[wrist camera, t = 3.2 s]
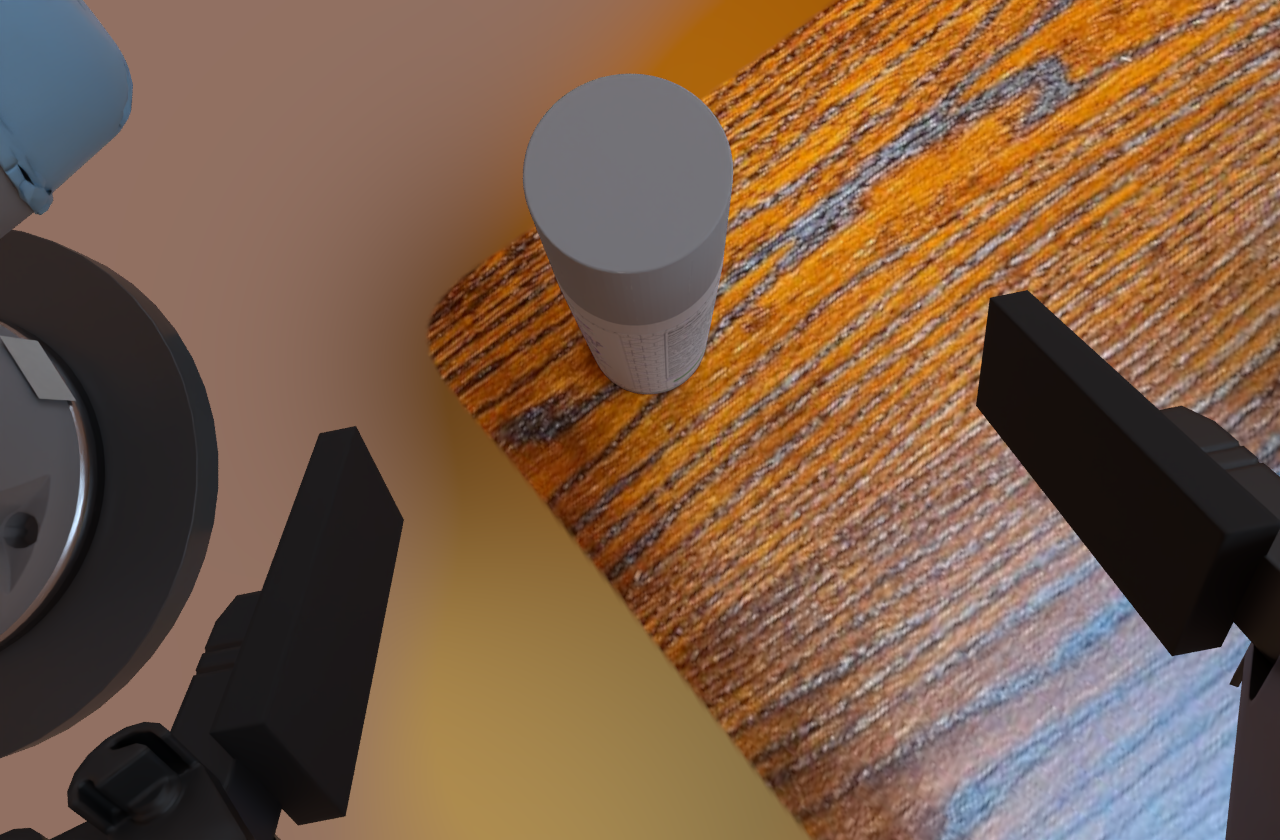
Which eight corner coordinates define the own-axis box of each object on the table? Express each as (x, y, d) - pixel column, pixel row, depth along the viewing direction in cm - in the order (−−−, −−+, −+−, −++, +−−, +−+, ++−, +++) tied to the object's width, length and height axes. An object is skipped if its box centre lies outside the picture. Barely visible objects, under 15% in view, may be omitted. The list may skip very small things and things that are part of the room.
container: (567, 350, 31) (471, 196, 16) (636, 259, 31) (605, 26, 16) (661, 418, 30) (650, 323, 16) (730, 325, 31) (784, 146, 16)
